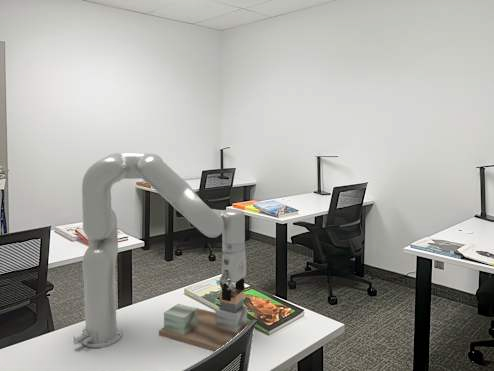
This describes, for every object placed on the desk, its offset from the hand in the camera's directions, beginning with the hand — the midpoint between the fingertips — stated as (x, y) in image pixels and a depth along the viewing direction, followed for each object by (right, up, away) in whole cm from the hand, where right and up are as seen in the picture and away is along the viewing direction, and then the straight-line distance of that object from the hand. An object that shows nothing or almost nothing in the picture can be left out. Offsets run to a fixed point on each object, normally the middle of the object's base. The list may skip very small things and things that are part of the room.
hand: (233, 295), depth 145 cm
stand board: (-9, -12, 0) cm, 15 cm away
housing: (-1, -5, +1) cm, 5 cm away
